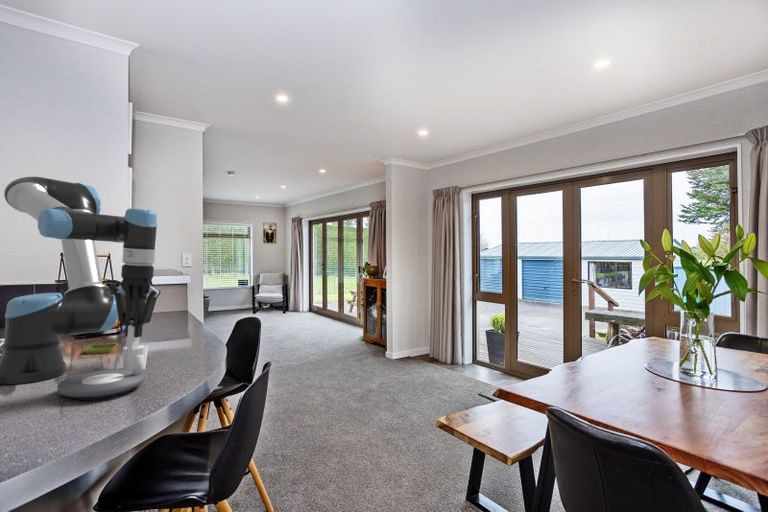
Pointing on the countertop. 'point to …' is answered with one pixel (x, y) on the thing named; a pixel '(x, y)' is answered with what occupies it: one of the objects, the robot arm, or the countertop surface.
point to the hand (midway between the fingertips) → (132, 348)
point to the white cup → (130, 353)
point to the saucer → (100, 348)
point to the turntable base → (101, 396)
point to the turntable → (103, 381)
